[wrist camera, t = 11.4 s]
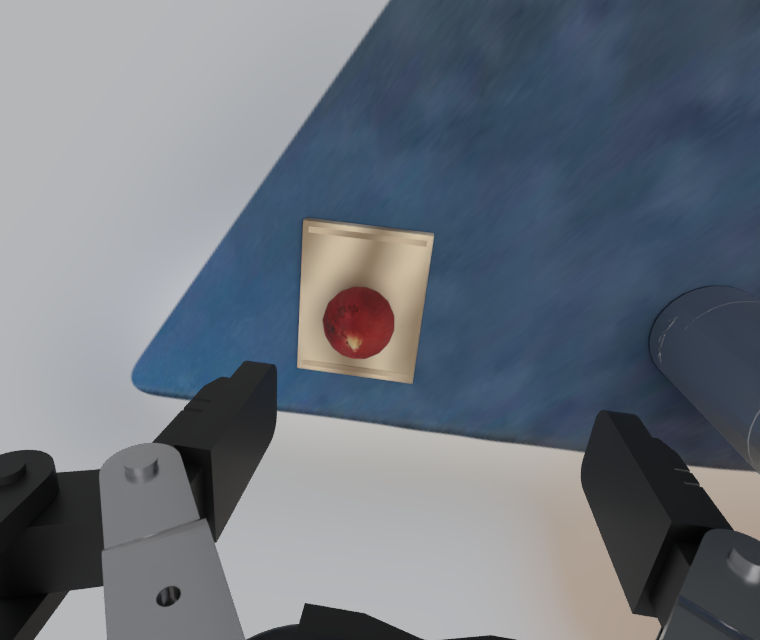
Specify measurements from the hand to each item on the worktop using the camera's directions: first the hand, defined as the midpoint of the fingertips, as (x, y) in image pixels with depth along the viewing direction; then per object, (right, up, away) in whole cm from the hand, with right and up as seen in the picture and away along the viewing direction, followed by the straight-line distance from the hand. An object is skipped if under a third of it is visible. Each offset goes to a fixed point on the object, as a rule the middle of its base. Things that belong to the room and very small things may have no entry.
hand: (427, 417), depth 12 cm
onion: (-3, +4, +30) cm, 31 cm away
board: (-3, +4, +31) cm, 32 cm away
